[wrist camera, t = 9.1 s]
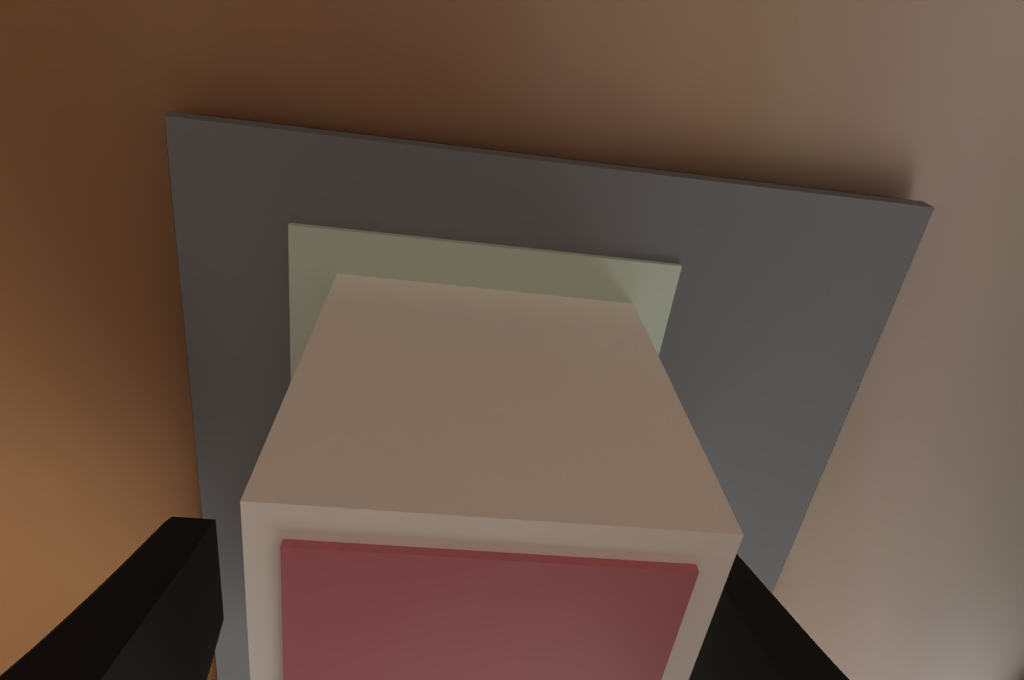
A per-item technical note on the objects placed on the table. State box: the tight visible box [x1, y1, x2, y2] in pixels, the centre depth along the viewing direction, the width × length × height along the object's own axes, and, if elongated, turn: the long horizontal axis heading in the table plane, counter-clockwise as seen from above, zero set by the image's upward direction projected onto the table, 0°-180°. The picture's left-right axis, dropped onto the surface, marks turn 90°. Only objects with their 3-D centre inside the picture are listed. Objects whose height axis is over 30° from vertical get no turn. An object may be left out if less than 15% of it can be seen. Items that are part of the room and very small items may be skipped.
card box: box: [240, 273, 744, 680], centre depth 10 cm, size 8×4×5 cm, turn 172°
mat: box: [165, 112, 934, 680], centre depth 14 cm, size 11×18×1 cm, turn 173°
